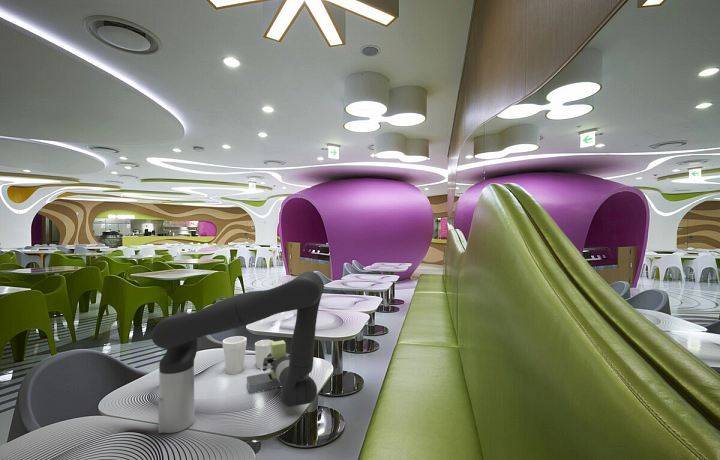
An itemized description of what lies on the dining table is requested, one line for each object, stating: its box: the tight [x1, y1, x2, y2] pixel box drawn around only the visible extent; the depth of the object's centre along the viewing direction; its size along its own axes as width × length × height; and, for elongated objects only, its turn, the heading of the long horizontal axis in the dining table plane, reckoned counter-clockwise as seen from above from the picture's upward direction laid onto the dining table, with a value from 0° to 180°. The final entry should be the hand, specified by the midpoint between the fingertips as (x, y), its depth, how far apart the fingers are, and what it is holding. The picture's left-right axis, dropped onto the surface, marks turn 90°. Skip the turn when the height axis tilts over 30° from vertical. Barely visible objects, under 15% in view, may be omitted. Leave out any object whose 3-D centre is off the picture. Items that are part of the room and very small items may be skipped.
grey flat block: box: [246, 371, 310, 395], centre depth 127 cm, size 22×8×3 cm, turn 115°
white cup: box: [254, 339, 275, 369], centre depth 144 cm, size 8×8×10 cm
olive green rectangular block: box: [270, 339, 287, 379], centre depth 127 cm, size 5×4×13 cm
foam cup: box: [222, 335, 248, 375], centre depth 138 cm, size 10×9×13 cm
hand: (276, 354), depth 130 cm, fingers closed on olive green rectangular block, 5 cm apart
